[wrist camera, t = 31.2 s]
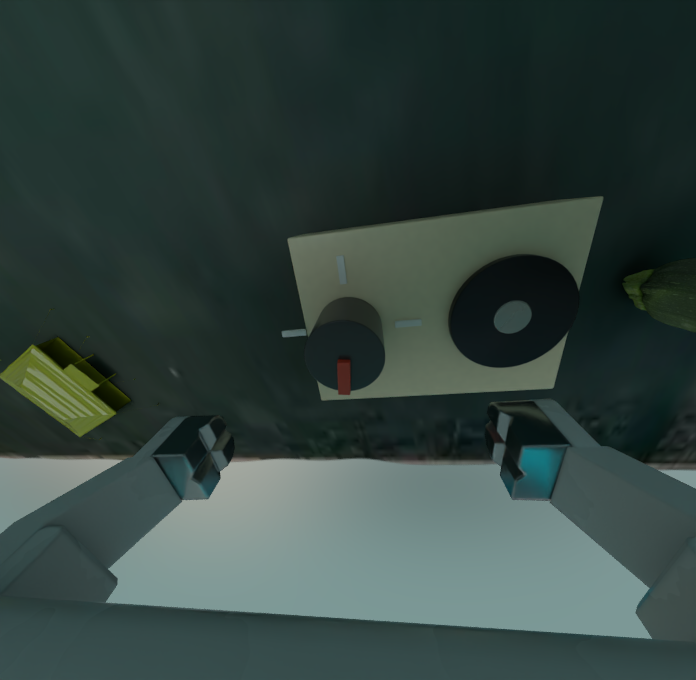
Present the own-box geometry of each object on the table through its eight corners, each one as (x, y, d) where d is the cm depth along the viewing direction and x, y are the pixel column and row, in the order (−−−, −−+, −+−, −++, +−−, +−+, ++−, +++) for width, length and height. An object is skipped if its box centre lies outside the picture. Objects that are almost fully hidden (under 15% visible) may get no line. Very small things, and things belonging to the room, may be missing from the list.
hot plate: (558, 199, 13) (608, 195, 11) (525, 362, 18) (555, 390, 15) (278, 237, 15) (258, 242, 13) (310, 376, 20) (299, 403, 17)
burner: (587, 246, 12) (596, 247, 11) (557, 360, 14) (564, 364, 14) (450, 261, 12) (453, 263, 12) (445, 367, 15) (448, 372, 14)
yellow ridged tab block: (-1, 359, 21) (-52, 379, 19) (56, 305, 19) (6, 320, 16) (101, 438, 25) (70, 464, 22) (162, 401, 22) (134, 426, 19)
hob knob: (315, 296, 14) (298, 322, 10) (383, 297, 13) (388, 323, 10) (319, 355, 15) (305, 394, 12) (380, 356, 15) (383, 397, 12)
